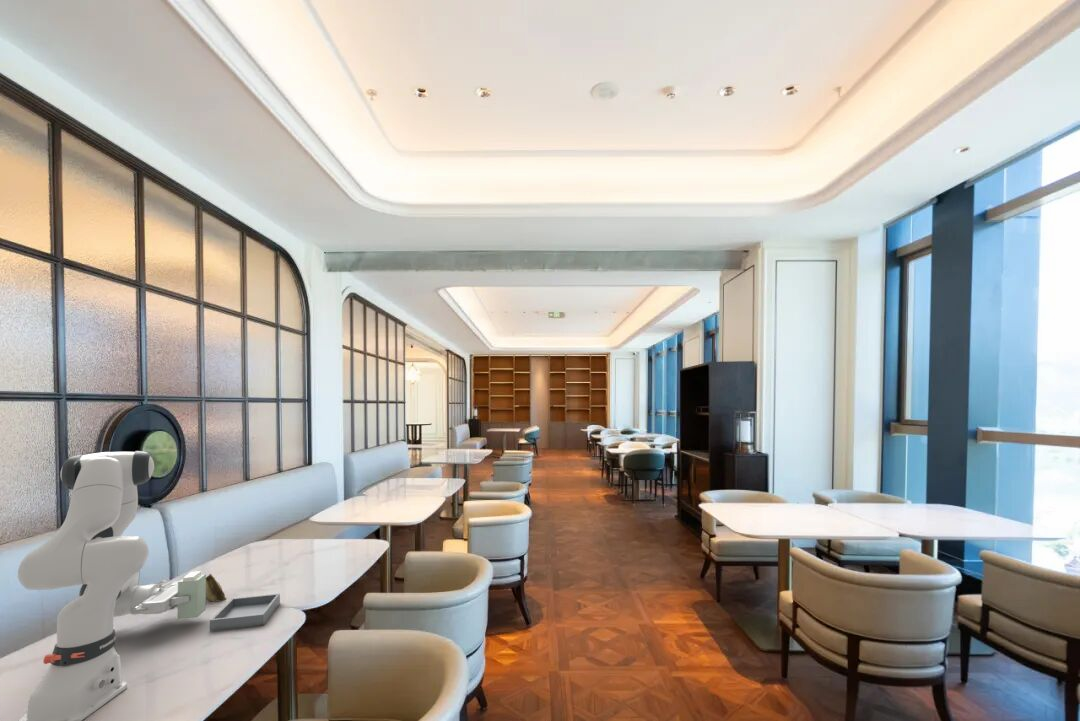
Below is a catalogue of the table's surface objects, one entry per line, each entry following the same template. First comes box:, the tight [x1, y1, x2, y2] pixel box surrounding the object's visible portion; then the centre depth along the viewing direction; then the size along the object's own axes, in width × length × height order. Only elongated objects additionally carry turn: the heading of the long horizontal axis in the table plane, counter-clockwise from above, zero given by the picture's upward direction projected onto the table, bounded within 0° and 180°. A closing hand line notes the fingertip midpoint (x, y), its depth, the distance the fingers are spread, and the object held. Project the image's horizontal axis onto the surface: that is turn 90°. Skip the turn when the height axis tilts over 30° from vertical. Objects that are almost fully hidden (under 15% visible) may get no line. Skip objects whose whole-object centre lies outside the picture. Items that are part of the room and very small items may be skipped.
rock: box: [206, 573, 227, 602], centre depth 196 cm, size 11×9×10 cm
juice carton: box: [176, 570, 207, 620], centre depth 174 cm, size 6×6×13 cm
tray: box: [209, 593, 281, 632], centre depth 177 cm, size 18×16×4 cm
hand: (194, 594), depth 174 cm, fingers closed on juice carton, 6 cm apart
